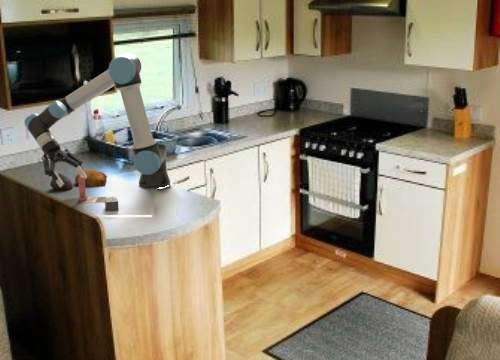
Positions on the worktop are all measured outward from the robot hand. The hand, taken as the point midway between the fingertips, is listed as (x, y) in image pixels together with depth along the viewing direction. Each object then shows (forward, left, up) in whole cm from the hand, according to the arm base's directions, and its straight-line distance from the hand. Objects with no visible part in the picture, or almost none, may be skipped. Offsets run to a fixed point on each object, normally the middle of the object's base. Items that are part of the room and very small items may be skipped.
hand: (73, 182), depth 275 cm
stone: (+10, -18, -9) cm, 22 cm away
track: (-10, +3, -8) cm, 13 cm away
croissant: (-3, -26, -9) cm, 27 cm away
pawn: (-4, +3, -7) cm, 9 cm away
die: (-18, +16, -8) cm, 26 cm away
